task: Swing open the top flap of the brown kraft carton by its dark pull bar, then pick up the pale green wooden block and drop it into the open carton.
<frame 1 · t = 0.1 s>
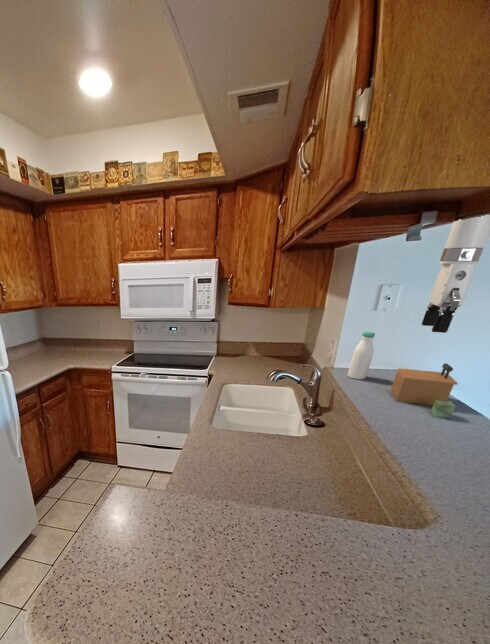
hand: (433, 328, 89), 32 cm above the worktop, tool pointing down, fingers open, 9 cm apart
block: (440, 414, 115), on the worktop
flap: (427, 370, 123), point 11 cm above the worktop, hinge at 0.0°
carton: (415, 398, 128), on the worktop
milk bottle: (356, 377, 151), on the worktop
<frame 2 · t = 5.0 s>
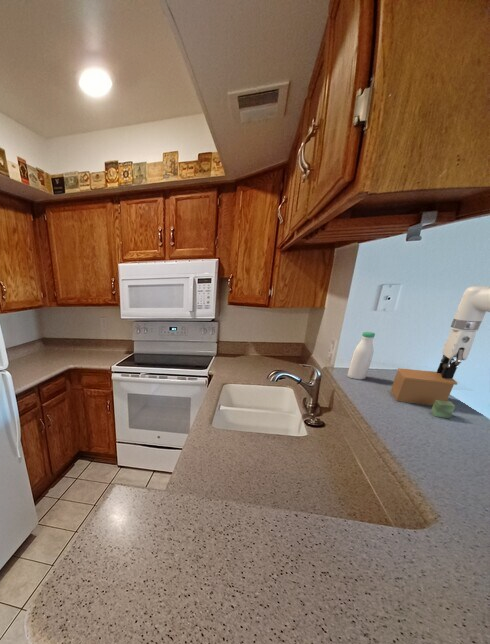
hand: (444, 375, 122), 10 cm above the worktop, tool pointing down, fingers closed on flap, 5 cm apart
flap: (427, 370, 123), point 11 cm above the worktop, hinge at 0.0°, touching gripper
everything else where it was.
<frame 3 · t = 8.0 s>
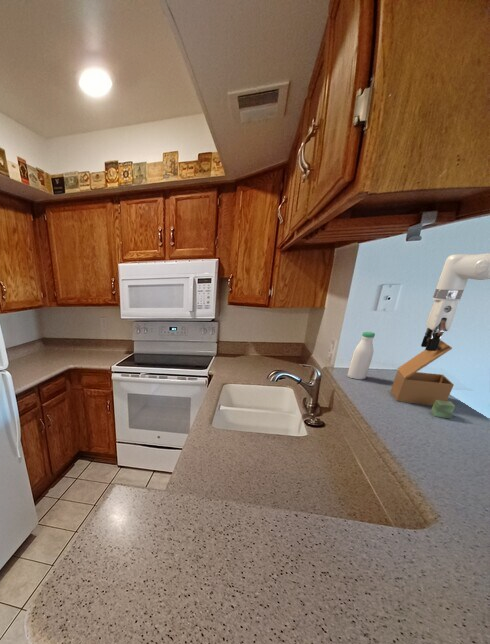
hand: (428, 348, 120), 19 cm above the worktop, tool pointing down, fingers closed on flap, 5 cm apart
flap: (418, 355, 122), point 17 cm above the worktop, hinge at 50.3°, touching gripper
everything else where it was.
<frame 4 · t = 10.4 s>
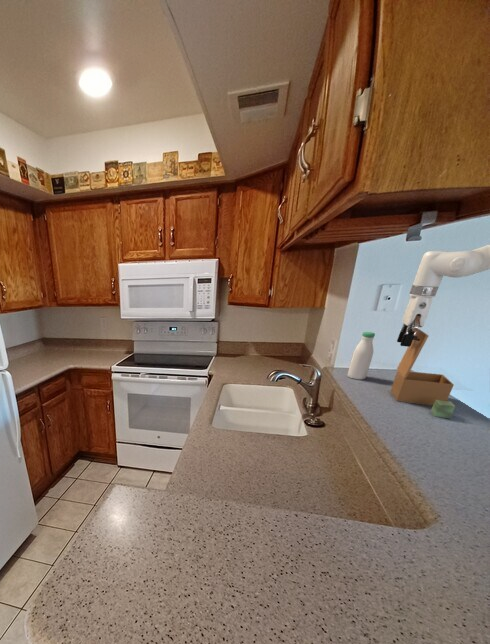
hand: (403, 343, 122), 20 cm above the worktop, tool pointing down, fingers closed on flap, 5 cm apart
flap: (405, 352, 123), point 17 cm above the worktop, hinge at 82.5°, touching gripper
everything else where it was.
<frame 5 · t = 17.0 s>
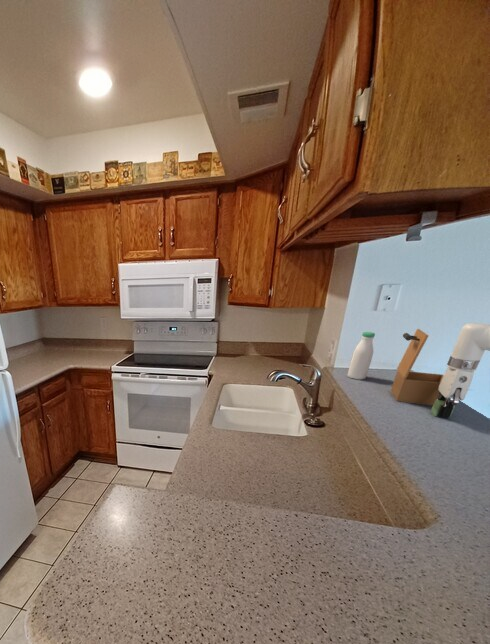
hand: (440, 413, 115), 0 cm above the worktop, tool pointing down, fingers closed on block, 4 cm apart
block: (440, 414, 115), on the worktop, touching gripper
flap: (405, 352, 123), point 17 cm above the worktop, hinge at 82.6°
everything else where it was.
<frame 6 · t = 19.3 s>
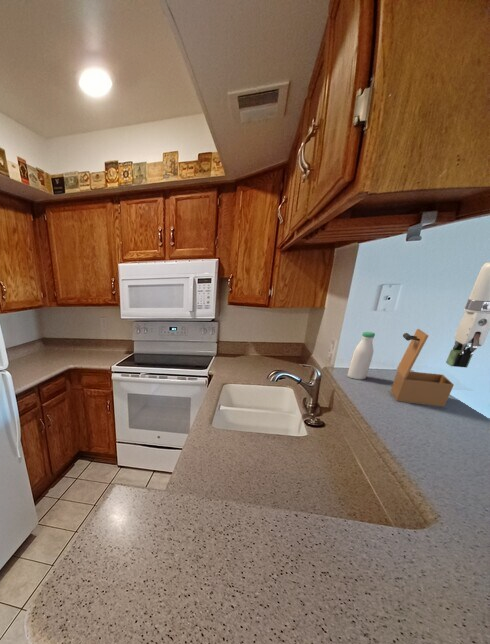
hand: (456, 363, 109), 17 cm above the worktop, tool pointing down, fingers closed on block, 4 cm apart
block: (456, 365, 110), point 17 cm above the worktop, touching gripper
everything else where it was.
when the fingers open (13 cm above the worktop, at t = 22.0 s): block drops 12 cm, resting on carton.
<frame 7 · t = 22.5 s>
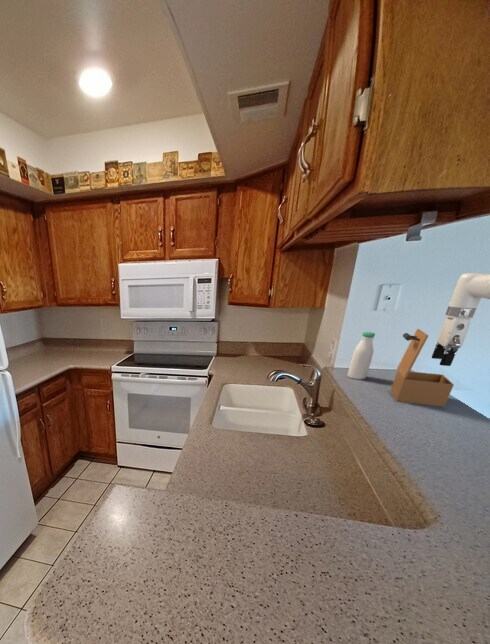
hand: (440, 361, 120), 15 cm above the worktop, tool pointing down, fingers open, 9 cm apart
block: (425, 397, 127), point 1 cm above the worktop, touching carton
everything else where it was.
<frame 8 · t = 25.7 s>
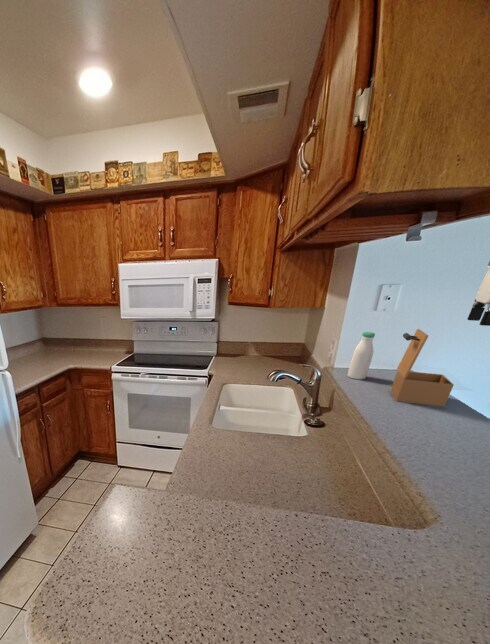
hand: (479, 322, 105), 30 cm above the worktop, tool pointing down, fingers open, 9 cm apart
nothing on the worktop moved.
at the end: flap at +83° (first picture: +0°); block inside the target area in the carton (3.0 cm from its centre), point 0.6 cm above the carton's base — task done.
